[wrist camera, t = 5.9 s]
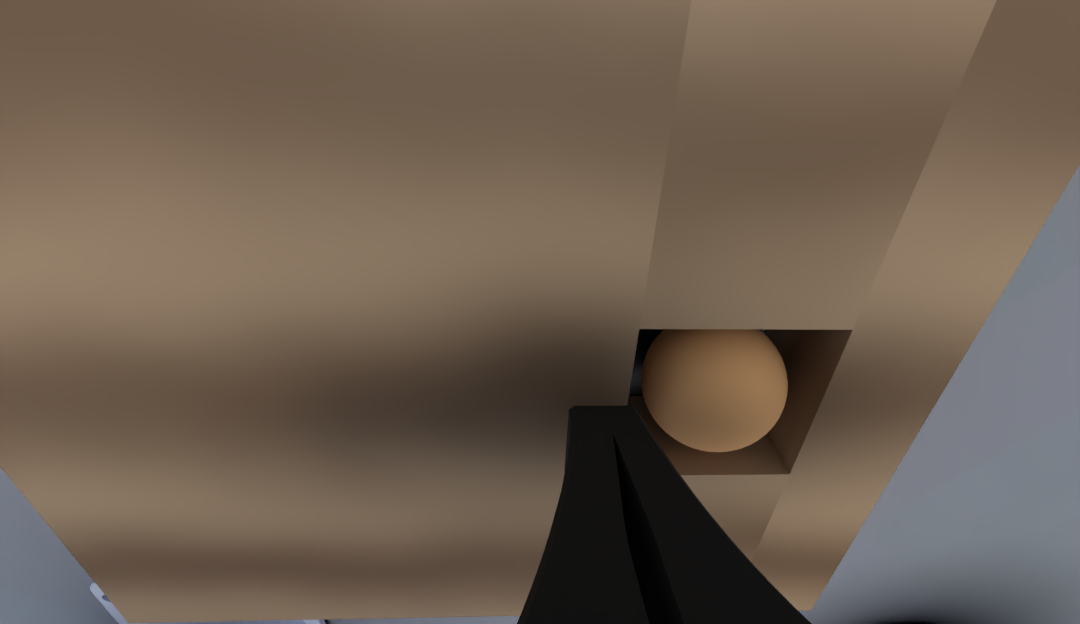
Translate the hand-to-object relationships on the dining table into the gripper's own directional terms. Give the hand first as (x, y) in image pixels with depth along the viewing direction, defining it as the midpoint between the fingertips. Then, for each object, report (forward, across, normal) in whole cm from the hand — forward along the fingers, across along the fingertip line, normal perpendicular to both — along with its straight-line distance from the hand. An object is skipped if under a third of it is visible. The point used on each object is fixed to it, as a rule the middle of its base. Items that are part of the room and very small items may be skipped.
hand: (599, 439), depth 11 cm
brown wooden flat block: (+4, +3, 0) cm, 5 cm away
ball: (+2, -3, 0) cm, 4 cm away
